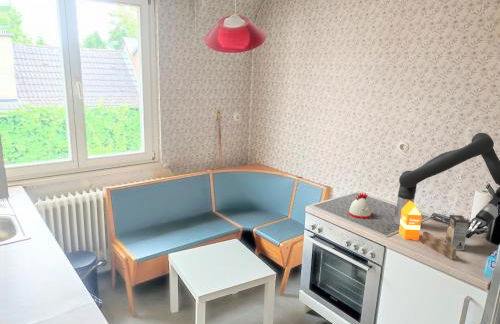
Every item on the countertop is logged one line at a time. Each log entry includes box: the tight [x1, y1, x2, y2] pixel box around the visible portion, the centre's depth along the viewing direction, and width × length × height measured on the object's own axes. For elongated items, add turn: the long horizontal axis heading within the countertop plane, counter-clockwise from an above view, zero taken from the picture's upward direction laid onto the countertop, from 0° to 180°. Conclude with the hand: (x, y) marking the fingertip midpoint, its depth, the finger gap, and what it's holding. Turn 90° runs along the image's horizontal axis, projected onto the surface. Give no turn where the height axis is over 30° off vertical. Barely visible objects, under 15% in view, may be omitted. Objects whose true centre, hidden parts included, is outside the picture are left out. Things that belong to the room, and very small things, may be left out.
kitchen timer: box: [348, 192, 372, 220], centre depth 223 cm, size 14×14×15 cm
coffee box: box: [445, 214, 469, 251], centre depth 181 cm, size 9×6×16 cm
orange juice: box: [398, 201, 422, 241], centre depth 192 cm, size 8×9×20 cm
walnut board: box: [421, 231, 457, 261], centre depth 177 cm, size 20×2×6 cm, turn 15°
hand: (466, 237), depth 184 cm, fingers closed
